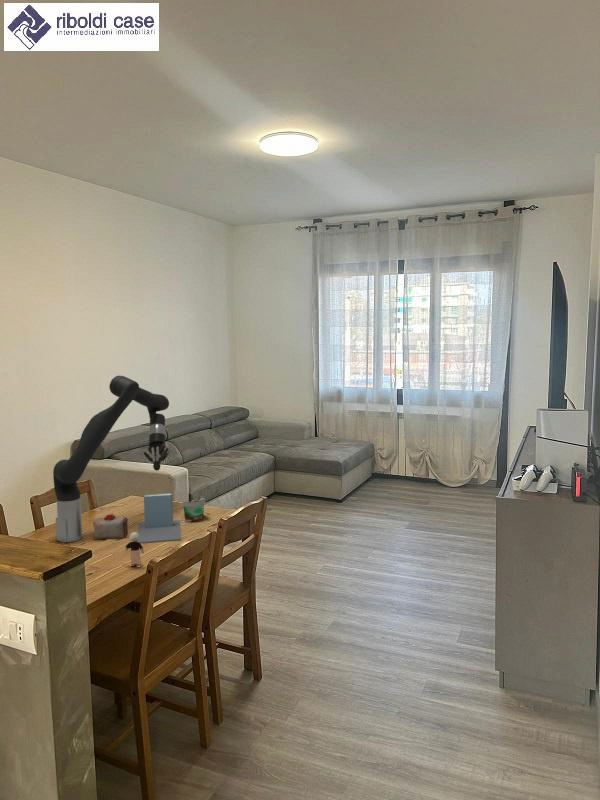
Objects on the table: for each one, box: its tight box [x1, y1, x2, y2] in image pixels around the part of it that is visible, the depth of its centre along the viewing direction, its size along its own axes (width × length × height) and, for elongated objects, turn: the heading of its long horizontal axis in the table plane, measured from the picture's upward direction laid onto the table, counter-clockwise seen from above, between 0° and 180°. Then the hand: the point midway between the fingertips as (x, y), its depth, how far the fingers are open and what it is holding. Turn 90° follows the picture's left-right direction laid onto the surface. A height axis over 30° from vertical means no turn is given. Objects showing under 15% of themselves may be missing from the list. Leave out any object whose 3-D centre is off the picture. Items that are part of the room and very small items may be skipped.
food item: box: [92, 513, 129, 540], centre depth 248 cm, size 14×8×10 cm, turn 89°
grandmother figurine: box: [124, 531, 145, 567], centre depth 216 cm, size 8×4×13 cm, turn 88°
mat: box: [136, 519, 182, 545], centre depth 254 cm, size 26×18×1 cm
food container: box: [182, 495, 206, 523], centre depth 269 cm, size 12×6×10 cm, turn 146°
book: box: [143, 492, 174, 528], centre depth 260 cm, size 4×12×14 cm, turn 102°
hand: (156, 469), depth 272 cm, fingers closed
